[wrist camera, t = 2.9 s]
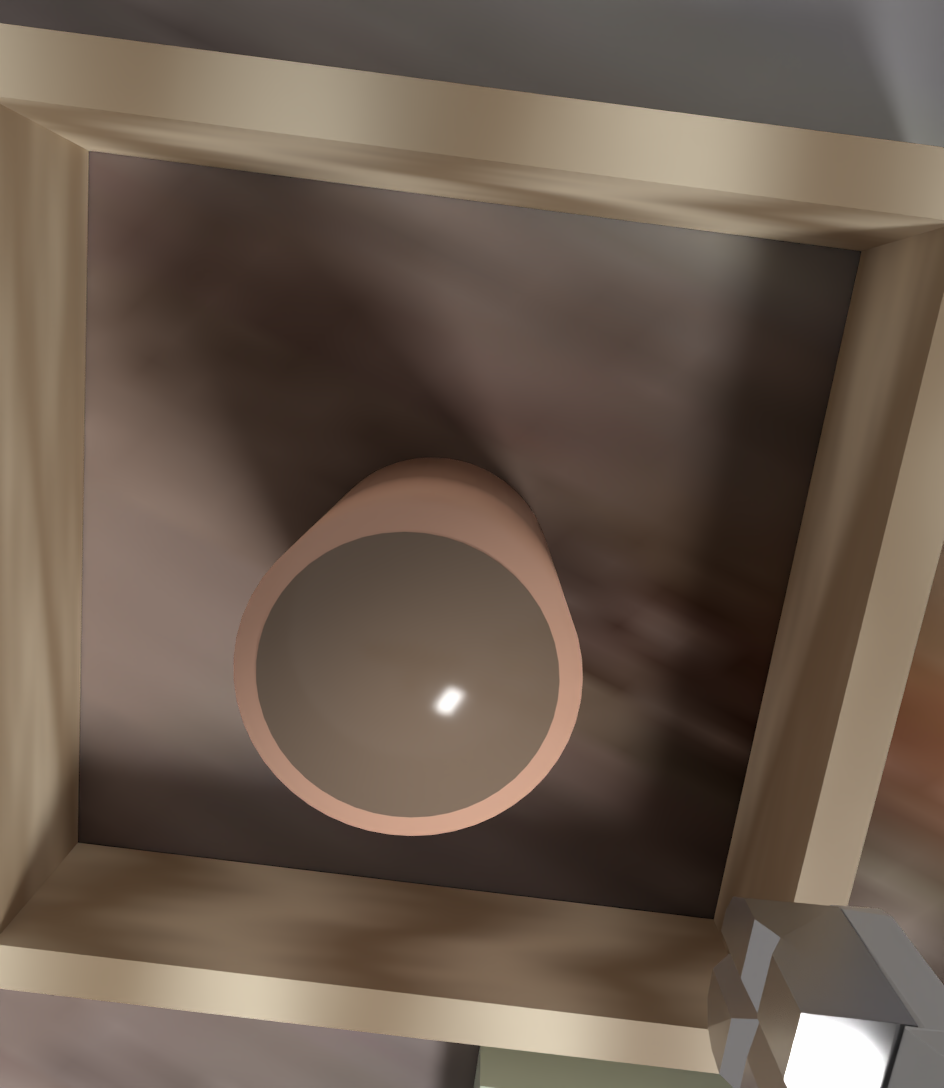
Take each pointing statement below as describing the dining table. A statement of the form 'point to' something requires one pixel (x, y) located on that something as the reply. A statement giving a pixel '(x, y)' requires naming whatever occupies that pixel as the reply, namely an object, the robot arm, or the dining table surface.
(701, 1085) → the tile
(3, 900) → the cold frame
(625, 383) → the dining table surface
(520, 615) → the pot
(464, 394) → the dining table surface
